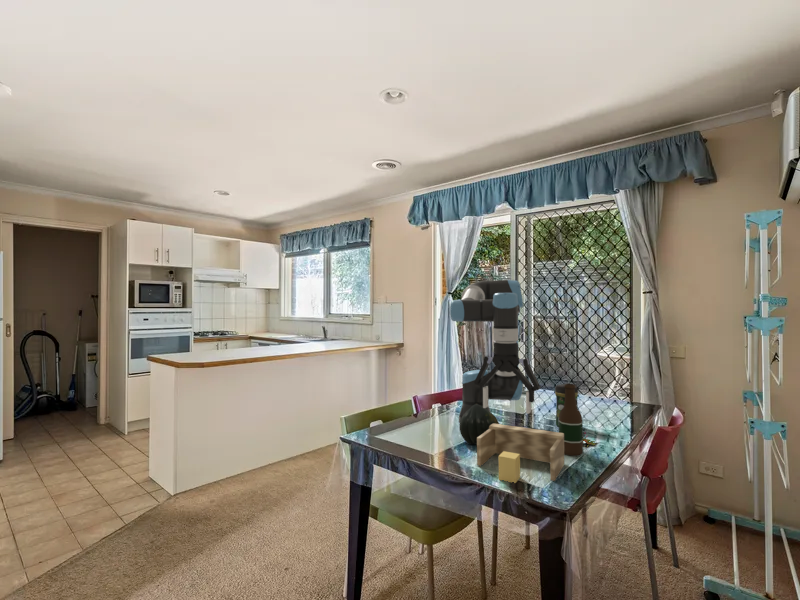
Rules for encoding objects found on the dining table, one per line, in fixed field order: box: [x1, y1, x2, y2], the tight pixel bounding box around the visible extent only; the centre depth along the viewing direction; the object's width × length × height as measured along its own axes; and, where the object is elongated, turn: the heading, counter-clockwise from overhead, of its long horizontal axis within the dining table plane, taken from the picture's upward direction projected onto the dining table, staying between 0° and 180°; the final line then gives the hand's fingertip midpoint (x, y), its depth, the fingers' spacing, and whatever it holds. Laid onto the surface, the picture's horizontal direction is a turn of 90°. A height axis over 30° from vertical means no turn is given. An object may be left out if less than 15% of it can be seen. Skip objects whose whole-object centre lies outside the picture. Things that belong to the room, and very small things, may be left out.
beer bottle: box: [558, 383, 584, 457], centre depth 147 cm, size 8×8×24 cm
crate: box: [476, 423, 565, 482], centre depth 135 cm, size 24×16×10 cm, turn 59°
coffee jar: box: [554, 382, 579, 428], centre depth 181 cm, size 10×8×19 cm
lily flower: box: [583, 432, 596, 448], centre depth 158 cm, size 12×12×5 cm
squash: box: [459, 404, 500, 445], centre depth 159 cm, size 14×15×15 cm
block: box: [497, 451, 521, 484], centre depth 124 cm, size 5×5×7 cm
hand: (506, 409), depth 130 cm, fingers open, 13 cm apart
